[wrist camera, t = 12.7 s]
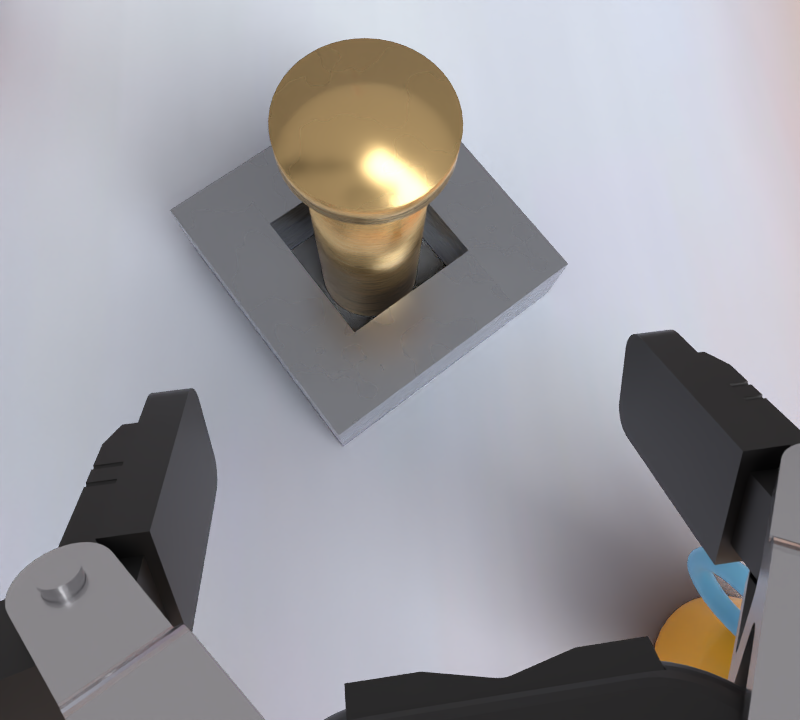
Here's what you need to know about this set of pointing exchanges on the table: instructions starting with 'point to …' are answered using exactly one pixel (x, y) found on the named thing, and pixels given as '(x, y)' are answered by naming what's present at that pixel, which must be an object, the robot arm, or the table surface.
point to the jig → (399, 324)
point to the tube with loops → (705, 618)
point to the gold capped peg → (366, 160)
